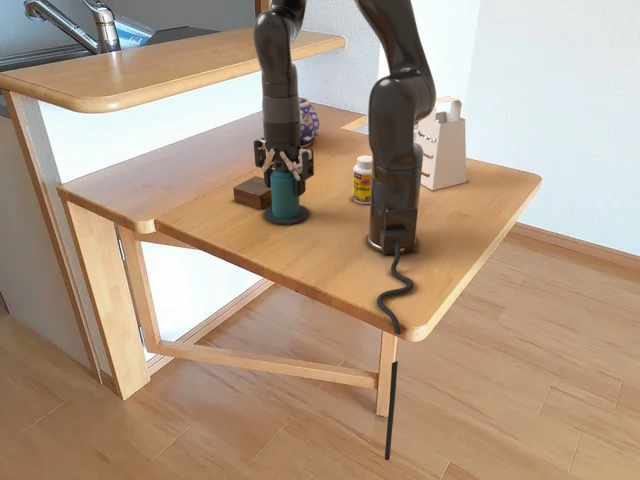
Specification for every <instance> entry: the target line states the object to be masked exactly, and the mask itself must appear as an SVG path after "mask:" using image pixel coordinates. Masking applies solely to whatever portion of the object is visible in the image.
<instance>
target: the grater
mask: <svg viewBox="0 0 640 480" xmlns="http://www.w3.org/2000/svg"><path fill="white" fill-rule="evenodd" d="M448 102H450V110H449V112H448V111H439V112H437V109H438V107H439V106H440V104H443V103H448ZM462 104H463V103H462V102H461V100H460V99H459V98H455V97H452V96H449V95H448V96H442V97H436V103H435V106H434V109H433V111H432V112H431V114H430V115H429V116H427V117H426V118H424V119H423V120H420V121H419V126H418V130H417V134H416V139H415V143H417V144H419V145H420V146H421V147H422V149H423V163H422V173H424V174H426V175H429V176H425V175H424V174H421V183H420V185H423V186H424V187H426V188H428V189H429V190H431V191H435V190H440V189H444V188H448V187H451V186H455V185H459V184H463V183H466V182H467V150H466V149H467V148H466V147H467V146H466V145H467V144H466V119H465V118H464V117H461V111H462ZM437 121H438V122H437ZM425 137H426V138H425ZM430 157H431V158H430Z"/></svg>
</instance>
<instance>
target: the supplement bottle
mask: <svg viewBox="0 0 640 480" xmlns="http://www.w3.org/2000/svg"><path fill="white" fill-rule="evenodd" d="M356 160H357V161H356V164H355V165H354V166H353V173H352V199H353V201H354V202H355V203H357V204H362V205H370V199H371V177H372V155H360V156H358V157H357V159H356Z"/></svg>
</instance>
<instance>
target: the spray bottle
mask: <svg viewBox="0 0 640 480" xmlns="http://www.w3.org/2000/svg"><path fill="white" fill-rule="evenodd" d="M272 169H274V170H273V172H272V173H271V175H270V179H271V196H272V203H271V206H272V212H273V215H274V216H275V217H278V218H283V219H287V218H293V217H295V216H297V215H298V214H299V213H300V206H299V205H300V196H296V195H295V180H296V178H295V176H294V174H293V173H292V172H291V171H290V170H289V169H288V167H287V166H285V162H283V161H279V160H274V163H273V168H272Z"/></svg>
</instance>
